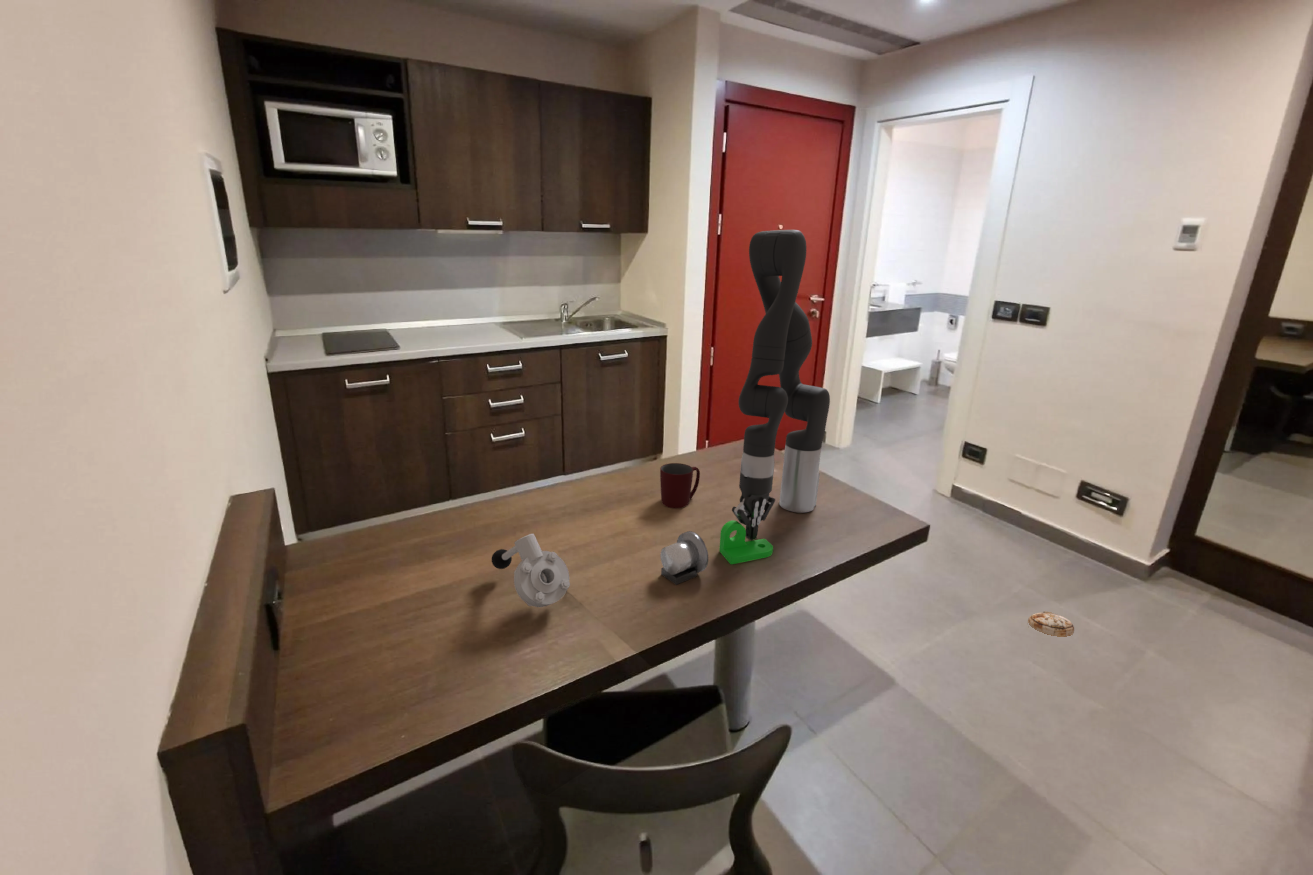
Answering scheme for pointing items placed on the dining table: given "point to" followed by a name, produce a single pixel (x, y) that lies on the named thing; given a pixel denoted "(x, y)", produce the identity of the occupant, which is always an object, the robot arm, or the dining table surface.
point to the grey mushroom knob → (684, 558)
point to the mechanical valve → (535, 572)
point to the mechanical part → (741, 545)
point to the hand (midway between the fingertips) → (751, 538)
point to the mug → (677, 484)
